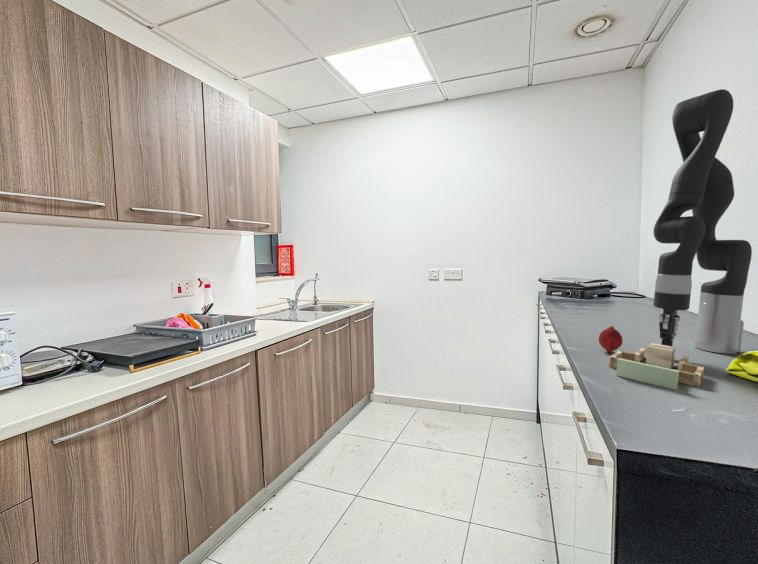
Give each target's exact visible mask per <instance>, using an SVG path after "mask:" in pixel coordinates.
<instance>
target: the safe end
mask: <svg viewBox="0 0 758 564" xmlns="http://www.w3.org/2000/svg"><path fill="white" fill-rule="evenodd" d="M615 373H616V374H615V375H616V376H617V377H622V378H626V379H628V380H634V381H637V382H642V383H646V384H650V385H654V386H658V387H661V388H667V389H670V390H675V391H678V387H679V386H678V385H679V382H678V378H679V371H678V369H673V368H671V369H668V368H663V367H658V366H654V365H649V364H646V363H643V362H634V361H629V360H625V359H620V358H618V360H617V368H616V372H615Z"/></svg>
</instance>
